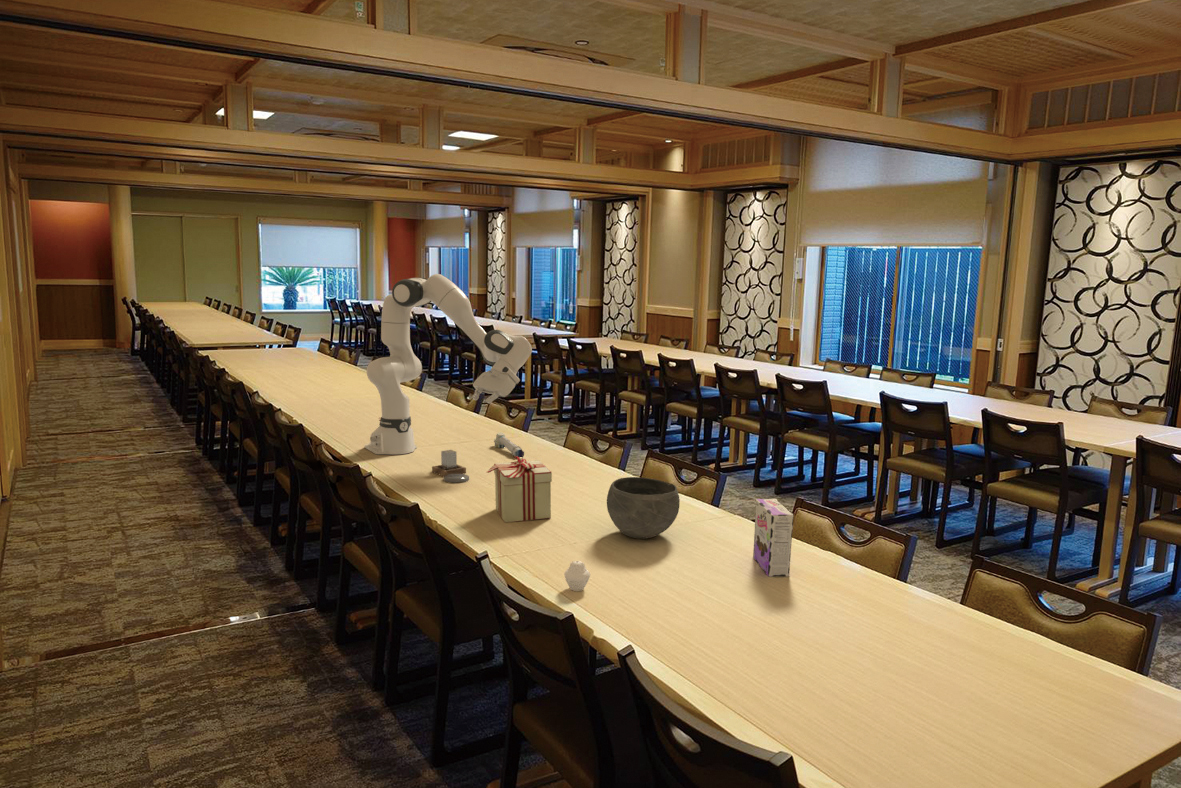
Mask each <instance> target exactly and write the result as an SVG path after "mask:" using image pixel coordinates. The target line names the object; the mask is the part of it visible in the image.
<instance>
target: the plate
mask: <svg viewBox="0 0 1181 788" xmlns="http://www.w3.org/2000/svg"><path fill="white" fill-rule="evenodd" d="M445 481H446V482H445ZM466 481H467V482H469V481H470V475H468V474H466V473H464V474H449V475H446V476H443V482H445V483H448V482H451V483H450V484H460V483H459V482H462V483H466Z"/></svg>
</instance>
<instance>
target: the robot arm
mask: <svg viewBox="0 0 1181 788" xmlns="http://www.w3.org/2000/svg"><path fill="white" fill-rule="evenodd" d="M382 303H383V304H382V307H381V308H382V310H381V324H380V325H381V330H380V332H381V333H380V337H381V339H380V340H381V342H382V343H383V344H384V345H385V346H387V347H388V351H389V354H390V355H389V356H383V357H379V358H375V359H374V360H372V361H370V362H369V363H368V364H367V367H366V376H367V378H368V380H369V382H371V383H372V384H373V385H374V387H376V389H377V391H378V393H379V396H380V404H381V405H380V406H381V417H380V418H379V419H378V421H379V425H378V426H377V428H376V429H375V430H374V431H373V432H371V434H370V437H369V439H370V441H369V442H370V443H368V444H367V443H366V444H364V448H365V449H366V450H368V451H370V452H371V453H373V454H375V455H405V454H409V453H412V452H414V451H415V450H416V449H417V448H418V447H417V445H416V444H415V438H414V437H415V436H414V429H413V428H412V427H411V425H412V418H411V414H410V411H411V410H410V407H411V405H410V398H409V396H408V394H406V393H404V392H403V390H402V387H401V383H407V382H411V381H413V380H415V379H417V378H419V377H420V376H421V374H422V371H423V365H422V361H421V360H420V359H419V358H418V356H416V354H415V353H414V351H413V348H412V345H411V329H410V328H411V311H412V309H413V308H414V307H415V308H418V307H423V306H426V305H428V304H430V303H433V304H434V305H435V306H436V307H437V308H438V309H439V310H441V312H442V313H443V314H445V316H447V317H448V318H449V319H450V320H451V321H452V322H453V323H454V324H455V325H456V326H457V327H458V328H459V329H461V330H462V332H463V333H464V334H465V335H466V336H467V338H469V339H470V340H471V341H472V342H473V344H474V345H475V346H476V347H477V348H478V349H479V351H480V353H481V356H482V358H483V360H484V362H485V363H487V364H488V365H490V366H492V367H491V368H490V370H488V371H484V372H481V374H480V375H479V376H478V377H476V379H474V381H473V384H472V387H473V388H474V389H475V390H474V393H473V395H472V396H471V398H472V399H473V400H474V401H478V400H479V398H480V394H482V393H486V394H491V395H489V396H488V397H486V399H485V402H486V403H487V404H492V403H493V401H495V400H497V399H498V398H499V397H502V398H505V397H508V396H509V394H511V392H512V391H513V390H514V389H515V387H516V386H517V385H518V384H519V382H520V381H521V379H520V378H519V377H518V376H517V374H518V372H519V369H521V367H523V366H524V365H525V363H526V362H527V361H528V359H529V358H530V356H531V354H532V350H533V348H532V344H531V343H530V341H529V340H528V339H527V338H526V337H524V336H523V335H513V334H510V333H509V334H508V333H506V332H504V331H503V330H500V329H492V330H490V331H488V332H486V331H485V329H484V328H483V327H482V326H480V324H479V322H477V320H476V318H475V316H474V312H473V309H472V304H471V302H470V299H469V297H468V296H467V295H466V294H465V293H464V291H463V290H462V289H461V288H460V287H459V286H458V285H457V284H455V283H454V282H453V281H451V280H450V279H449V278H447V277H446V276H444V275H443V274H440V273H435V274H433V275H430V276H429V277H428V278H427V277H426V278H425V277H410V278H405V279H401V280H399V281H397V282H396V283H395V284H394V285H393V287H392V289H391V294H389V295H387V296H385V297H384V300H383V302H382Z"/></svg>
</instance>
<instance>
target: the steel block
mask: <svg viewBox="0 0 1181 788" xmlns="http://www.w3.org/2000/svg"><path fill="white" fill-rule="evenodd" d="M440 452H441V453H440V454H441V459H440V460H441V464H440V465H441V468H442V469H443V470H452V469H457V465H458V464H457V460H458V459H457V457H458V456H457V455H458V454H457V451H456V450H453V449H446V450H441V451H440Z"/></svg>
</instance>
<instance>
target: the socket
mask: <svg viewBox="0 0 1181 788" xmlns="http://www.w3.org/2000/svg"><path fill="white" fill-rule="evenodd" d="M431 472H432V473H434V472H435V473H434V474H436V473H437V475H439V474H440V475H439V476H441V475H442V476H441V477H444V476H446V475H449V474H463V473H464V474H467V468H466V467H465V466H462V465H459V464H457V469H452V470H443V469H442V468H441V464H439V465H433V466H432V467H431Z"/></svg>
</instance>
